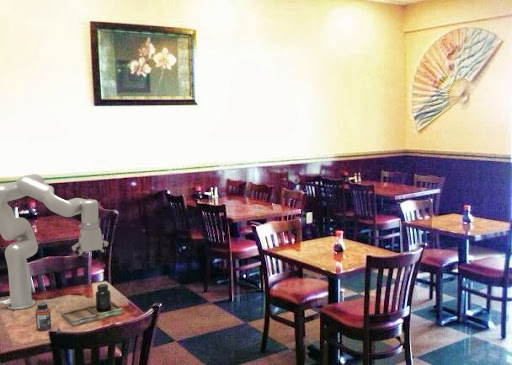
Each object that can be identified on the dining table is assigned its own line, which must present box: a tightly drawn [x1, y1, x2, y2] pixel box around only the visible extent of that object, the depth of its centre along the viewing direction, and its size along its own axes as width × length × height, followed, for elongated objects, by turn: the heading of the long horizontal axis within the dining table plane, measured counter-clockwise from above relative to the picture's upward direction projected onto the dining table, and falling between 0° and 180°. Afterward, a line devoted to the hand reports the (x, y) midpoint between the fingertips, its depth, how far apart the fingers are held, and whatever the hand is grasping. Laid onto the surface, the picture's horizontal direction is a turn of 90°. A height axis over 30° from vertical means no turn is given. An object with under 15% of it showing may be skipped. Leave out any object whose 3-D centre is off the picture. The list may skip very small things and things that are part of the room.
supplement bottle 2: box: [95, 283, 112, 312], centre depth 253 cm, size 7×7×12 cm
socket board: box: [60, 300, 126, 328], centre depth 249 cm, size 24×15×2 cm, turn 128°
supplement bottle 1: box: [35, 301, 52, 331], centre depth 234 cm, size 6×6×11 cm
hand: (90, 261), depth 254 cm, fingers open, 9 cm apart
